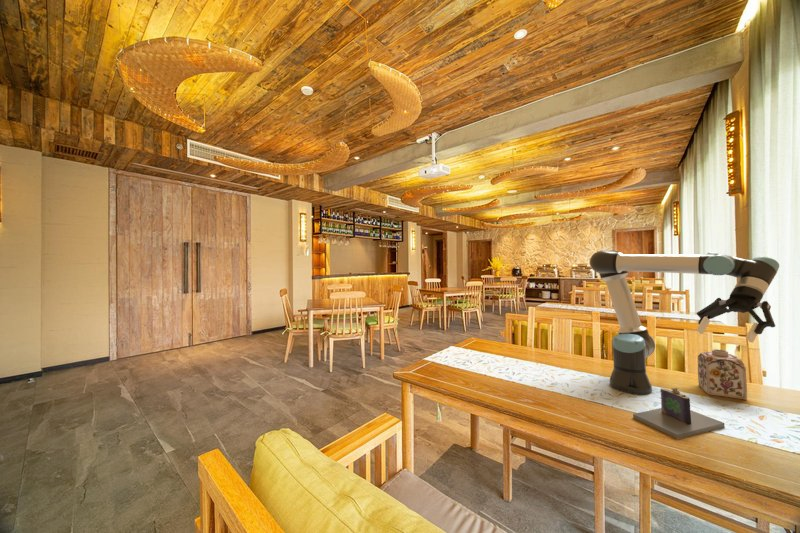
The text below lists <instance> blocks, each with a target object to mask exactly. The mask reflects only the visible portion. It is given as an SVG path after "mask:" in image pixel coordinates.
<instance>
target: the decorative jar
mask: <svg viewBox="0 0 800 533" xmlns="http://www.w3.org/2000/svg"><path fill="white" fill-rule="evenodd" d="M697 379H698V386H699V387H701V389H702V390H703V391H704V392H705V393H706V394H707V395H709V396H710V395H711V396H718V397H723V398H724V397H725V398H731V399H737V400H744V401H747V399H748V384H747V368H746V366H745V363H744V362H743V360H742V358H740V357H739V356H737V355H733V354H731V353H729V351H727V350H725V349H716V348H715V349H714V348H713V349H712V350H711V351H704V352H700V353H699V354H698V355H697Z"/></svg>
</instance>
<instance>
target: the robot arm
mask: <svg viewBox="0 0 800 533" xmlns="http://www.w3.org/2000/svg"><path fill="white" fill-rule="evenodd" d="M589 265H590V268H591V269H592V270H593V271H594V272H596V273H598V274H599V277H600V280H602V281H604V282H605V285H606V288H607V290H608V293H609V296H610V300H611V303H612V305H613V309H614V311H615V316H616V318H617V322H618V325H619V329H618V331H617V333H618V334H616V335H614V336H613V337H612V341H611V342H612V343H611V346H612V358H613V370H612V372H611V375H610V377H609V386H611V387H612V388H614V389H615V390H618V391H621V392H624V393H628V394H635V395H649V394H652V392H653V387H652V384H651V382H650V379H649V376H648V375H647V369H646V368H647V364H646V359H647V358H648V357H650V356H652V355H653V354H654V353H655V352H654V351H655V348H656V343H655V340H654V339H653V337H652V336H651V335H650V334H649V330H648V328H647V327H645V326H643V325H642V321H641V320H640V317H639V313H638V310H637V307H636V303H635V301H634V298H633V295H632V292H631V289H630V286H629V284H628V280H627V276H628V275H629V272H642V273H643V272H646V273H668V274H669V273H672V274H692V275H693V274H694V275H695V274H696V275H712V276H725V275H726V276H730V277H734V278H737V279H738V278H739V279H738V281H737V283H736V284H735V286H734V288H733V289H732V291H731V292H730V295H729V297H728V299H722V298H721V297H717V298H716V299H715V300H714V301H713V302H712V303H710V304H708V305H707V306H705V307H703V308H701V309H700V310H699V311H698V312H696V315H697V316H698V317H699V320H698V321H697V324H698V326H697V328H696V331H697V332H698V333H699V334H700V335H703V334H704V332H705V331H706V329H707V327H708V326H709V324H710V322H711V319H714V318H716V317H719V316H721V315H723V314H727V313H728V314H729V313H732V312H734V313H743V314H745V313H749V314H750V316H752V318H753V319H754V320H755V321H756V322H753V323H752V325H751V327H750V329H749V331H748V332H747V334H746V336H745V338H746V339H747V341H748V342H749V343H754V341H755V339H756V338H757V336H758V335H761V334H762V333H763V332H764V331H765V329H766V328H768V327H770V328H775V327H776V324H775V321H774V318H773V316H772V313H771V305H770V303H769V302H768V301H767V300H764V301H762V300H763V298H764V295H765V293H766V292H767V290H768V289H769V287H770V285H771V284H772V282H773V280H774V279H775V276H776V275H777V273H778V271H779V269H780V264H779V261H777V260H775V259H774V258H771V257H768V256H755V257H753V258H751V259H746V258H745V259H744V258H740V257H736V256H732V255H727V254H724V253H721V252H712V251H709V252H707V253H706V254H624V253H622V252H619V251H617V250H613V249H610V250H604V249H603V250H599V251H598V250H597V251H596V252H594V253H593V254H592V255H591V257H590V259H589ZM761 301H762V302H761ZM757 308H760V309H761V310H762V312H763V313H762V314H763V316H764V319H765V321H763V319H762V318H761V317H760V316H759V315H758V314H757V313H756V311H755V310H754V309H757Z"/></svg>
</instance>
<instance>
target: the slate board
mask: <svg viewBox="0 0 800 533" xmlns="http://www.w3.org/2000/svg"><path fill="white" fill-rule="evenodd" d="M690 413H691V425H688V424H684V423H683V422H680V421H679V420H677V419H674V418H671V417H670V416H668V415H665V414H663V413H662V411H661V407H659V408H654V409H649V410H646V411H641V412H635V413H633V414H632V416H633V419H634V420H636V421H639V422H641V423H642V424H645V425H647V426H649V427H651V428H654V430H655V429H656V430H658V431H659V432H661V433H664V434H666V435H668V436H671V437H672V438H674V439H676V440H680V439H683V438H684V439H685V438H689V437H692V436H697V435H700V434H704V433H707V432H712V431H716V430H720V429H723V428H725V422H724V421H723V422H722V421H720V420H717V419H715V418H712V417H710V416H707V415H704V414H702V413H700V412H696V411H694V410H691V409H690Z"/></svg>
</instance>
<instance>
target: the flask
mask: <svg viewBox="0 0 800 533" xmlns="http://www.w3.org/2000/svg"><path fill="white" fill-rule="evenodd" d="M660 399H661V400H660V402H661V406H660V408H661V411H662V413H663V414H665V415H668V416H670V417H671V418H674V419H677V420H679V421H680V422H683V423H684V424H688V425H691V413H690V410H691V401H690V400H691V399H690V397H689V396H687V395H686V394H683V393H681V391H679V387H671V389H669V388H663V387H662V388H660Z"/></svg>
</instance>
